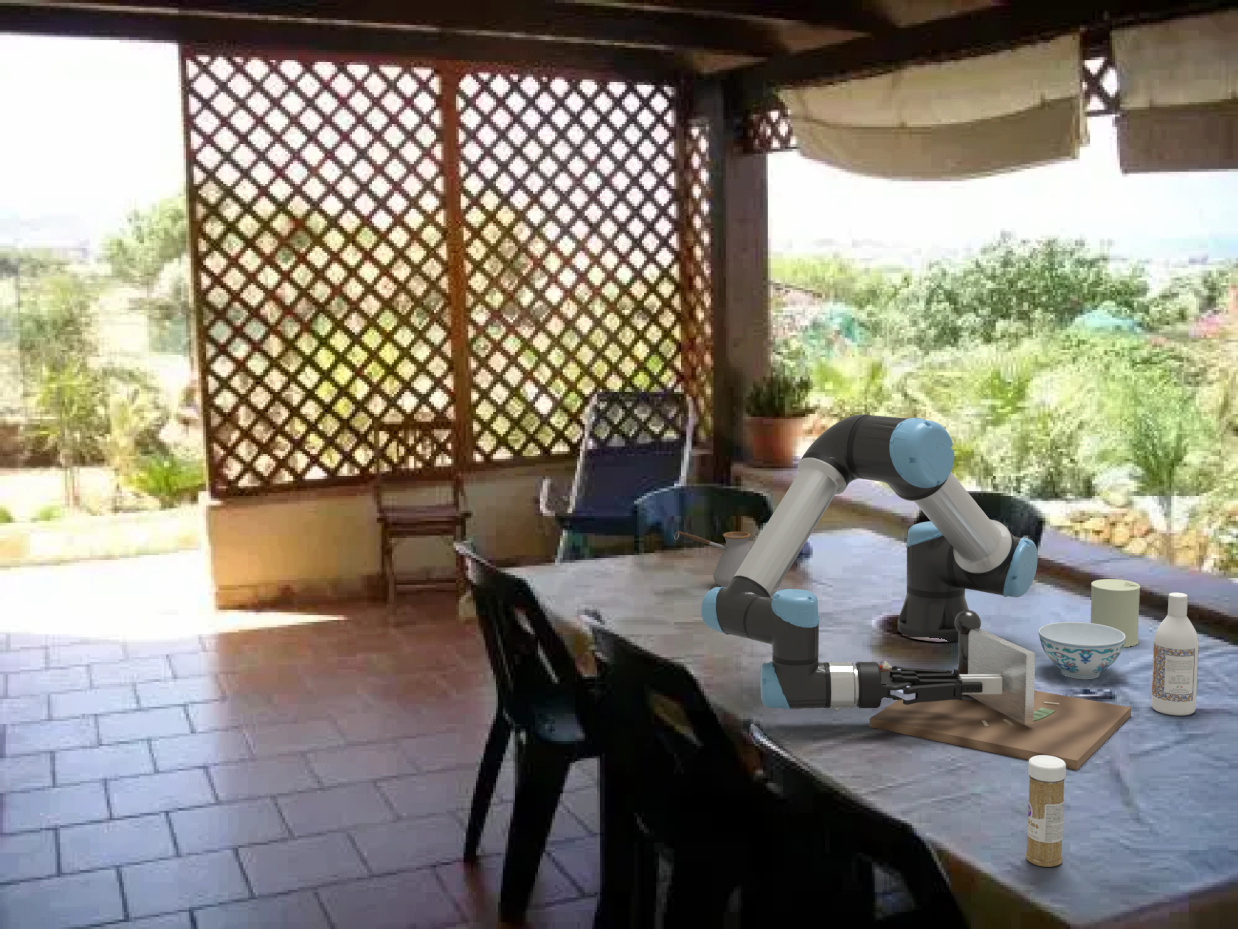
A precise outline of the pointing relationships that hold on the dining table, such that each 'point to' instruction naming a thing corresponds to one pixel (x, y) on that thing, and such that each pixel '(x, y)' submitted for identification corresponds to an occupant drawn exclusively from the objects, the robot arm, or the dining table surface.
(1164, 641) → the bath foam
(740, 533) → the coffee pot
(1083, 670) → the chinaware
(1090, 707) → the brown wooden cutting board
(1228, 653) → the dining table surface
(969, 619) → the panel with knobbed post
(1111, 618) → the can
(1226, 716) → the dining table surface
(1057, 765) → the sprinkles bottle
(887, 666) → the dessert
